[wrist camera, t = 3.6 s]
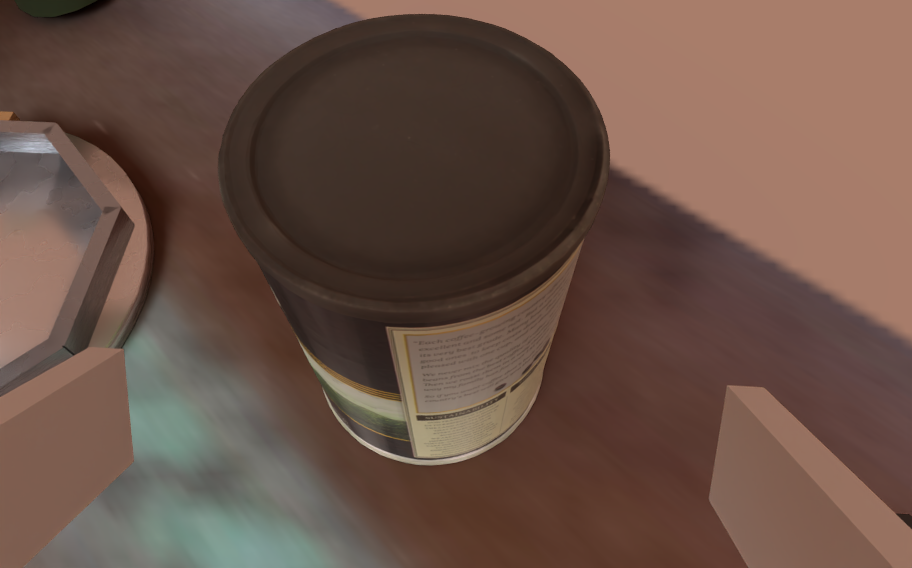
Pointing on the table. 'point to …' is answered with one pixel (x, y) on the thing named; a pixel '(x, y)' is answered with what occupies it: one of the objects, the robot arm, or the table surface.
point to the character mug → (51, 6)
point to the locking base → (65, 249)
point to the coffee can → (418, 220)
